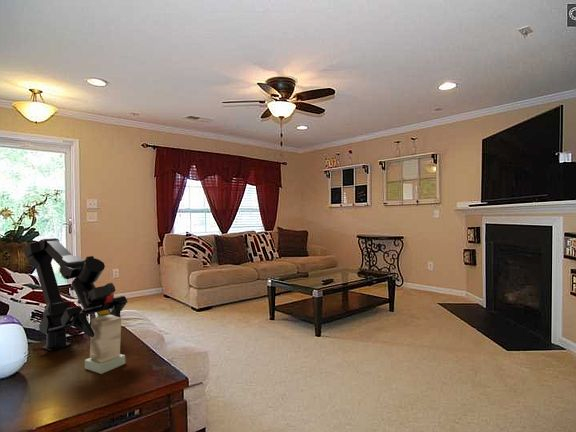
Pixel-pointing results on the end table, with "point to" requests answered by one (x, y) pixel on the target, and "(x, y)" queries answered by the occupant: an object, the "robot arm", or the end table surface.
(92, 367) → the sage block
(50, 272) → the robot arm
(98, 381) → the end table surface
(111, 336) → the birch pillar
